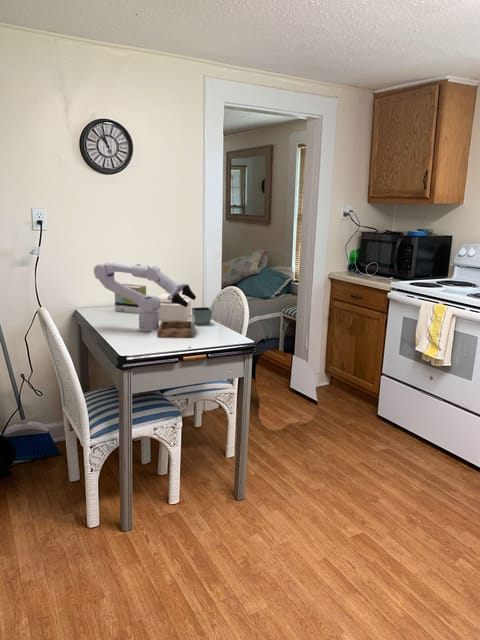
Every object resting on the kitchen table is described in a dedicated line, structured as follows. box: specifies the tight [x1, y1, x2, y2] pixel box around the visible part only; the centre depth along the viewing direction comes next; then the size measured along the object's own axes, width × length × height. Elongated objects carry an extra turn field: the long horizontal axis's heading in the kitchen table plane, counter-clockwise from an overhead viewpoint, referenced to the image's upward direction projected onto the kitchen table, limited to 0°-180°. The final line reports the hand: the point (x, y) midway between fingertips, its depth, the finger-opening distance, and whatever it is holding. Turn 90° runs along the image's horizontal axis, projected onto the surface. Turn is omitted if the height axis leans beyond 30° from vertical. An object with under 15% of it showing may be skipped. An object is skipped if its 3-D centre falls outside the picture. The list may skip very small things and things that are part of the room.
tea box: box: [114, 283, 147, 314], centre depth 286 cm, size 15×10×15 cm, turn 73°
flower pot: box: [191, 306, 213, 326], centre depth 254 cm, size 9×9×9 cm
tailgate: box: [191, 315, 196, 336], centre depth 235 cm, size 2×17×6 cm, turn 3°
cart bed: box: [156, 320, 196, 339], centre depth 235 cm, size 16×20×4 cm
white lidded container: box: [156, 290, 192, 322], centre depth 272 cm, size 18×18×16 cm
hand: (191, 301), depth 237 cm, fingers open, 7 cm apart
